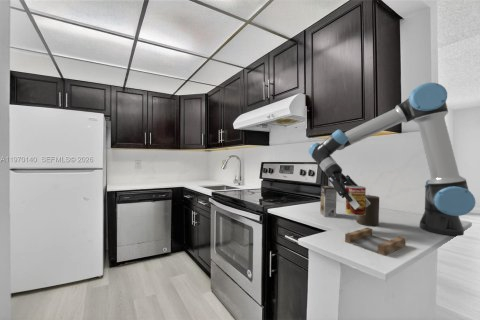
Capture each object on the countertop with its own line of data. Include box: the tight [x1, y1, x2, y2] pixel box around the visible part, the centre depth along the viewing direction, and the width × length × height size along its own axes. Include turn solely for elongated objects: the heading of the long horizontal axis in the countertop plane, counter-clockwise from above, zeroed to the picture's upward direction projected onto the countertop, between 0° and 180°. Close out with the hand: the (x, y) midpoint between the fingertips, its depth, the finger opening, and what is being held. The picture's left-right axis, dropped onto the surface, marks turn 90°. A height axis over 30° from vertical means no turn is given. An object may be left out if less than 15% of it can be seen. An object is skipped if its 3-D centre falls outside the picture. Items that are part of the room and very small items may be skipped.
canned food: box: [345, 185, 367, 216], centre depth 101 cm, size 8×8×12 cm
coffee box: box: [319, 185, 338, 218], centre depth 127 cm, size 9×6×16 cm
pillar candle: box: [356, 194, 380, 227], centre depth 112 cm, size 10×10×15 cm
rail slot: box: [344, 227, 407, 256], centre depth 85 cm, size 16×14×3 cm
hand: (362, 206), depth 98 cm, fingers closed on canned food, 8 cm apart
